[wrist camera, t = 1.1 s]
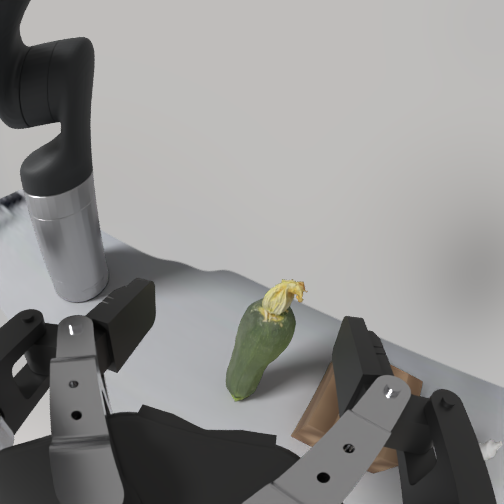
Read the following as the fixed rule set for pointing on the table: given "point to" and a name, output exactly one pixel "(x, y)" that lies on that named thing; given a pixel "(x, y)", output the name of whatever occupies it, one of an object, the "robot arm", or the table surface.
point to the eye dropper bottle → (489, 448)
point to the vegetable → (262, 337)
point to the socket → (327, 414)
